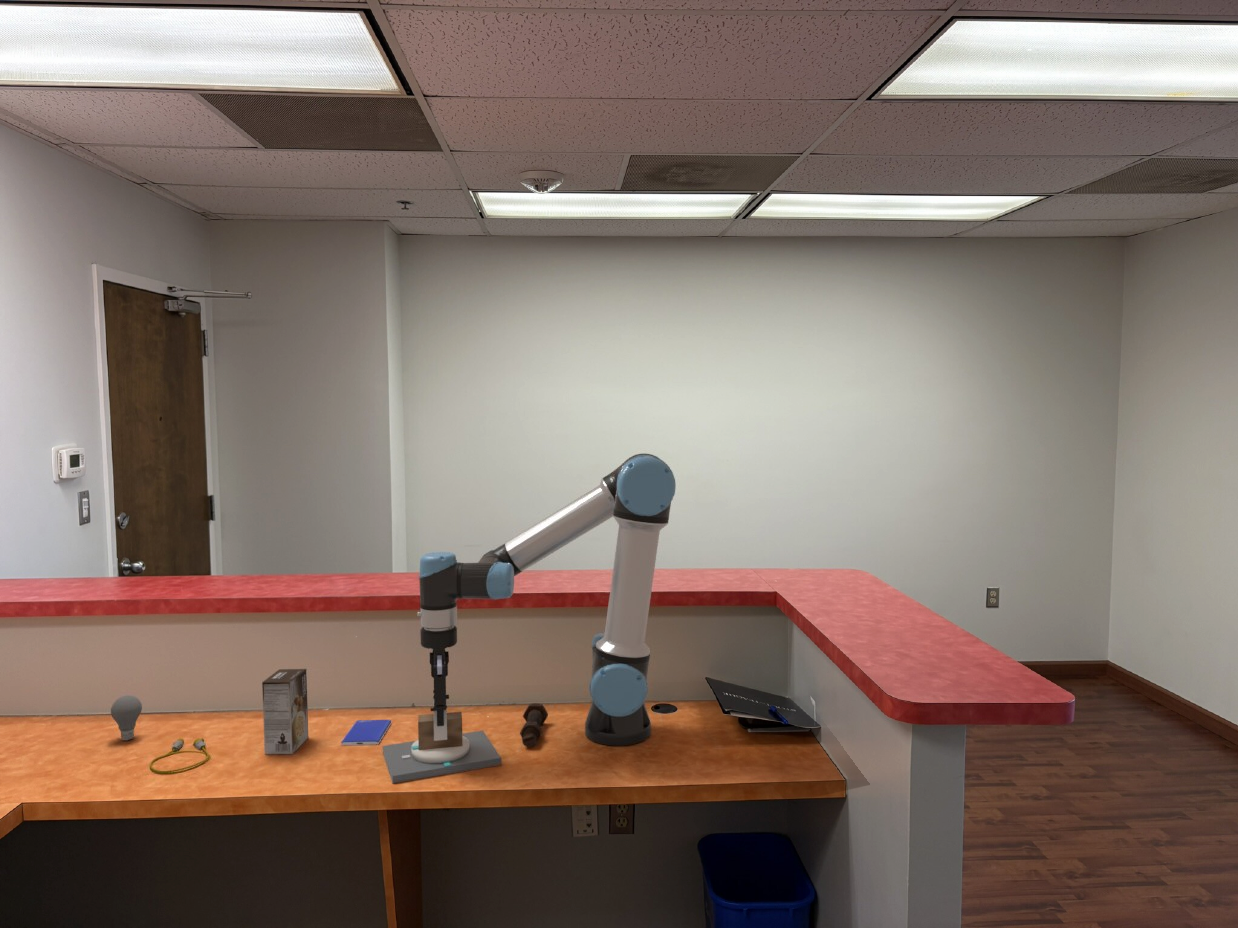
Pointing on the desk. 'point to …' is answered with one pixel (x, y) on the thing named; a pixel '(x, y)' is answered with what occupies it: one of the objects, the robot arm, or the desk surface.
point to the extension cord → (176, 746)
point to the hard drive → (366, 732)
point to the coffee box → (285, 711)
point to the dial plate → (411, 769)
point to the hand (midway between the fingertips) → (440, 734)
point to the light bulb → (126, 715)
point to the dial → (441, 749)
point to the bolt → (533, 724)
